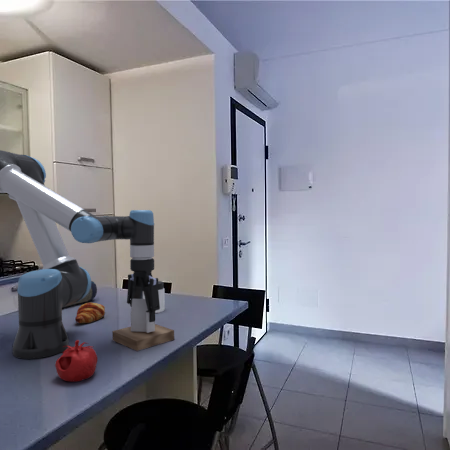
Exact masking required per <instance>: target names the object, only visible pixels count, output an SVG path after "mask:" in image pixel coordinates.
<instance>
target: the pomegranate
mask: <svg viewBox="0 0 450 450" xmlns="http://www.w3.org/2000/svg"><path fill="white" fill-rule="evenodd" d="M84 344H89V343H88V342H86V341H85V342H84V341H83V342H82V343H80V340H79V339H76V340H75V341H74V346H70V345H69V346H64V347H68V348H67V349H66V350H64V351H63V352H62V354H61V355H60V357H59V358H57V360H56V361H55V362H54V363H55V364H54V367H55V370H56V373H57V375H58V377H59V378H60V379H61V380H63V381H66V382H75V383H77V382H81V381H83V380H87V379H90V378H91V377H92V376H93V375H94V374H95V372H96V369H97V364H98V355H97V353H96V350H95V349H94V348H93V347H92V345H91V346H90V345H88V346H84Z"/></svg>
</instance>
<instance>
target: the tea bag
mask: <svg viewBox="0 0 450 450" xmlns="http://www.w3.org/2000/svg"><path fill="white" fill-rule="evenodd" d="M130 307H131V306H130ZM147 310H148V309H147V305H146V300H145V299H132V307H131V308H130V327H131V331H133V332H146V311H147Z"/></svg>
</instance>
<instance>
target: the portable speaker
mask: <svg viewBox="0 0 450 450" xmlns="http://www.w3.org/2000/svg"><path fill="white" fill-rule="evenodd" d="M97 292H98V287H97V284H96V283H95V281H93V280H91V288H90V291H89V293H88V294H87V295H86V296H85V297H84V298H83V299H81V300H80V301H78V302H76V303H73V304H70V305H67V306H65V307H62V309H63V308H66V307H71V306H75V305H79V304H83V303H84V304H85V303H89V302H92V300H94V299H95V298H96V296H97Z"/></svg>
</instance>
